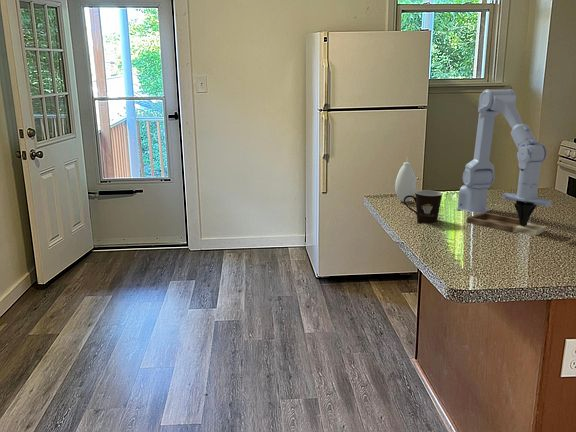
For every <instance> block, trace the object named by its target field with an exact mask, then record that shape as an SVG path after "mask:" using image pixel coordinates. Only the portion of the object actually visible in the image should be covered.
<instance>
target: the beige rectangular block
mask: <svg viewBox="0 0 576 432" xmlns="http://www.w3.org/2000/svg"><path fill="white" fill-rule="evenodd" d="M546 231H547V226H545V225H542V224H535V223H531V222H528V223H527V225H526V226H521V225H519V226H516V227H515V230H514V232H515V233H516V232H517V233H521V234H525V235H526V234H527V235H530V236H535V237H536V236H537V235H540V234H543V233H544V232H546Z"/></svg>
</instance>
